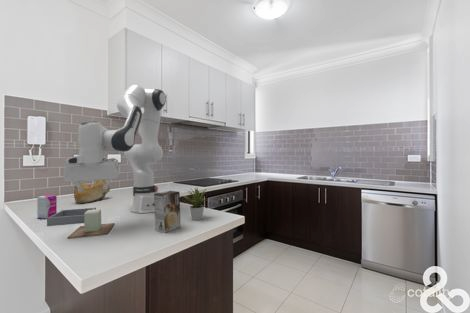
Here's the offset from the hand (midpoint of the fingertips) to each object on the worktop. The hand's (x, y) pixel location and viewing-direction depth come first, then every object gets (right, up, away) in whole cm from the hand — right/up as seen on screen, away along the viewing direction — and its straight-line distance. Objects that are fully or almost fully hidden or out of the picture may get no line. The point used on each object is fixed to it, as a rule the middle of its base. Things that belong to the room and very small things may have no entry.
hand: (93, 190), depth 97 cm
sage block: (0, -17, 0) cm, 17 cm away
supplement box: (-38, -18, +21) cm, 47 cm away
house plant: (+43, -17, +17) cm, 49 cm away
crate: (-21, -17, +17) cm, 32 cm away
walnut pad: (0, -18, 0) cm, 17 cm away
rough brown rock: (-43, -17, +64) cm, 79 cm away
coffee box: (+32, -17, +1) cm, 36 cm away
